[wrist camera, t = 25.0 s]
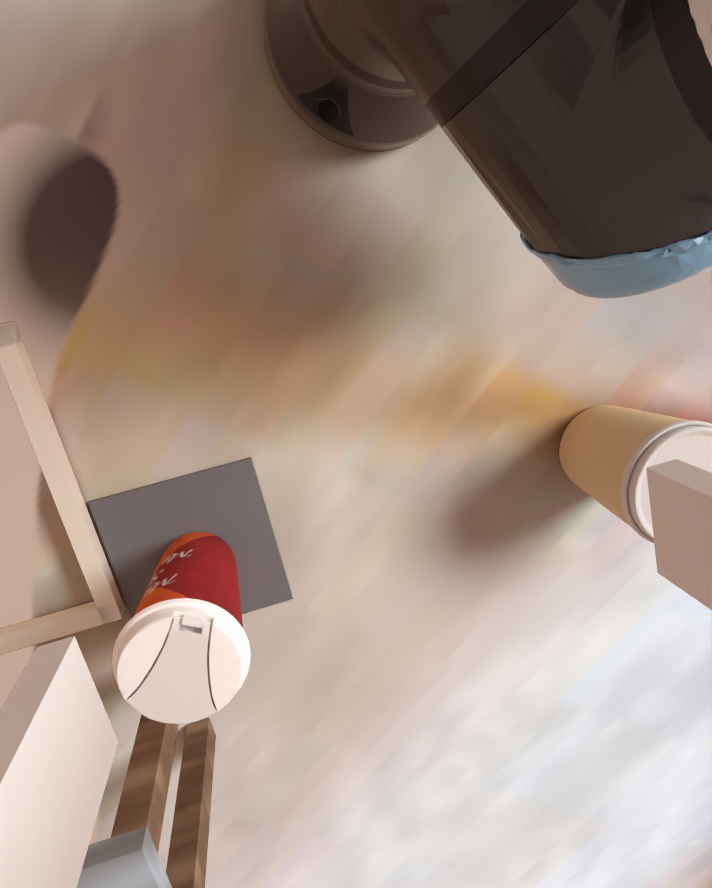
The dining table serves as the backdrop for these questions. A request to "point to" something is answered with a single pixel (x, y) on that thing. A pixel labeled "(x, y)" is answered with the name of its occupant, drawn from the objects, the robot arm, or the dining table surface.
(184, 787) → the small wooden stool
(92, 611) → the frame
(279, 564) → the coaster
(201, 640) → the coffee cup
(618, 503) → the coffee cup
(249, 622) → the dining table surface
